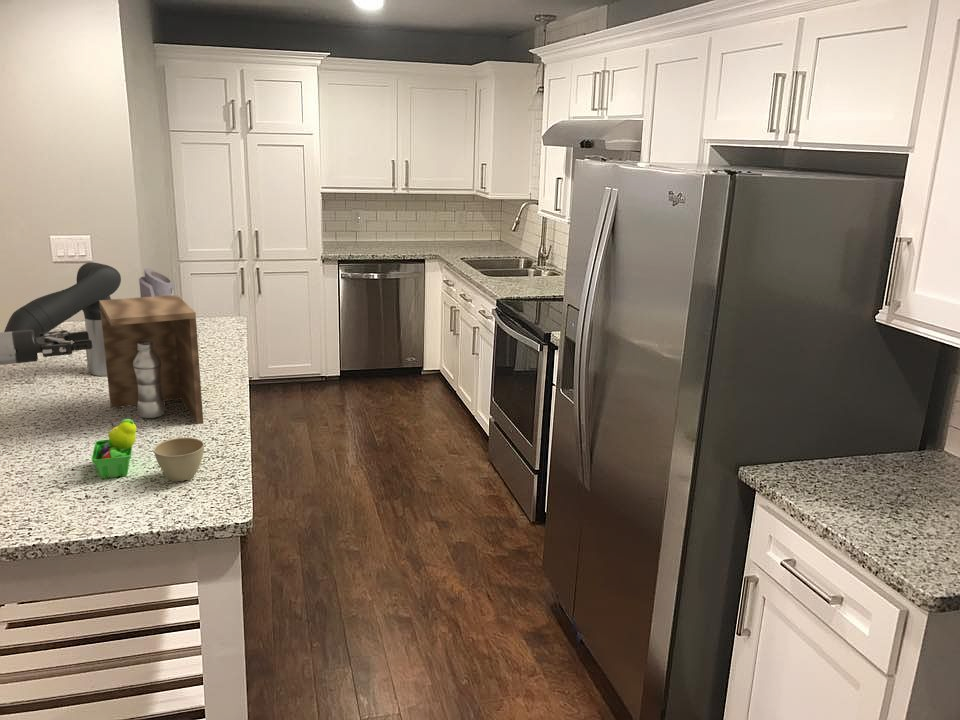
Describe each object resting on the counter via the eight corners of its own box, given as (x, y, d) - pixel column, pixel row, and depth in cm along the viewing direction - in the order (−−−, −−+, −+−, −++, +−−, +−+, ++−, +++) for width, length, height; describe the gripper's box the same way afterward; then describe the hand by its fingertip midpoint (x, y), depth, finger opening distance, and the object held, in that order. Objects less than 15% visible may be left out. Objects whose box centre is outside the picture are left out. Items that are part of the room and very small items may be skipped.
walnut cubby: (122, 435, 185) (110, 319, 176) (110, 406, 203) (99, 300, 195) (203, 423, 194) (195, 312, 186) (185, 396, 213) (177, 294, 205)
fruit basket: (97, 461, 170) (92, 414, 167) (140, 456, 173) (136, 410, 170) (93, 482, 160) (87, 432, 157) (139, 477, 163) (134, 428, 160)
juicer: (196, 331, 282) (191, 266, 276) (185, 342, 267) (179, 273, 260) (111, 330, 279) (105, 264, 272) (95, 342, 264) (87, 272, 257)
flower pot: (164, 467, 168) (162, 437, 166) (211, 467, 169) (209, 437, 167) (149, 487, 159) (146, 455, 157) (199, 487, 159) (196, 455, 157)
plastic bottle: (156, 422, 194) (149, 346, 188) (132, 419, 195) (125, 344, 189) (171, 413, 200) (164, 340, 194) (148, 411, 201) (141, 338, 195)
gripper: (14, 355, 183) (89, 347, 191) (15, 371, 172) (94, 362, 180) (9, 325, 181) (85, 318, 189) (10, 339, 170) (91, 331, 178)
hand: (90, 339), depth 185 cm, fingers open, 8 cm apart
